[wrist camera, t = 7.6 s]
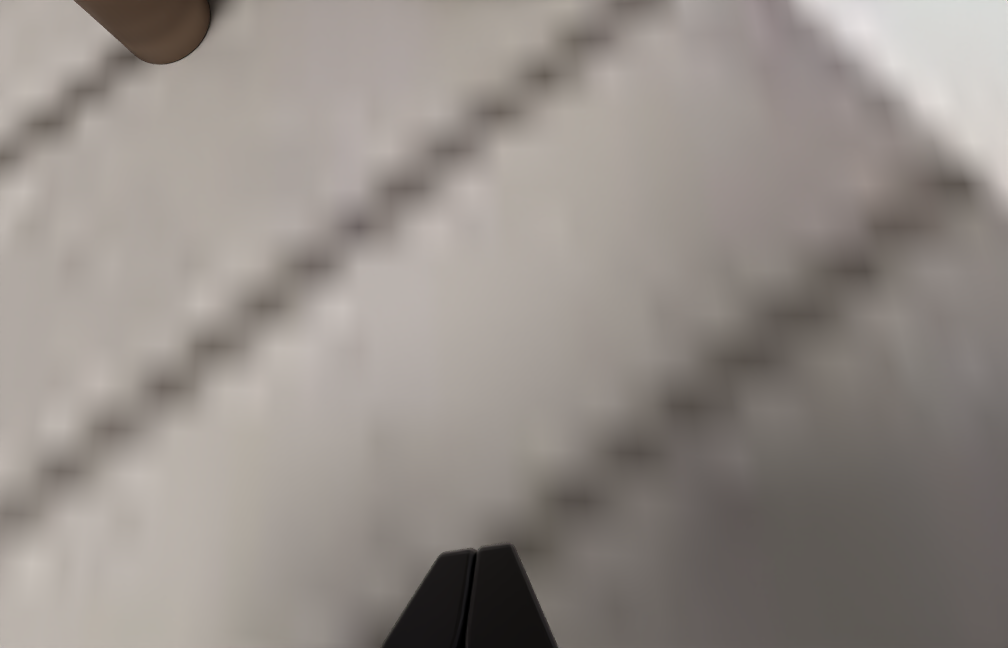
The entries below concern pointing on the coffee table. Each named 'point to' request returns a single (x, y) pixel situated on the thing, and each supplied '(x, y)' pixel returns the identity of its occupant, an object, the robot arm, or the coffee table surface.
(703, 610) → the coffee table surface
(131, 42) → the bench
